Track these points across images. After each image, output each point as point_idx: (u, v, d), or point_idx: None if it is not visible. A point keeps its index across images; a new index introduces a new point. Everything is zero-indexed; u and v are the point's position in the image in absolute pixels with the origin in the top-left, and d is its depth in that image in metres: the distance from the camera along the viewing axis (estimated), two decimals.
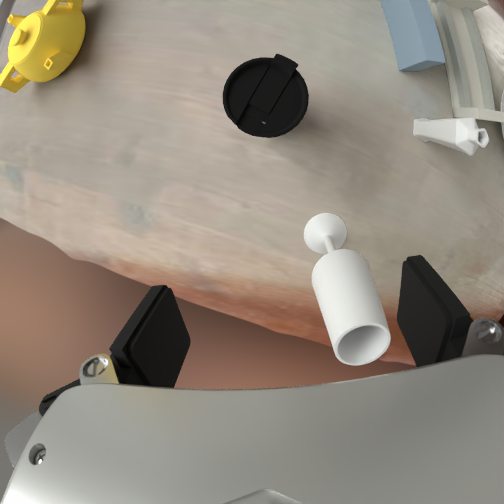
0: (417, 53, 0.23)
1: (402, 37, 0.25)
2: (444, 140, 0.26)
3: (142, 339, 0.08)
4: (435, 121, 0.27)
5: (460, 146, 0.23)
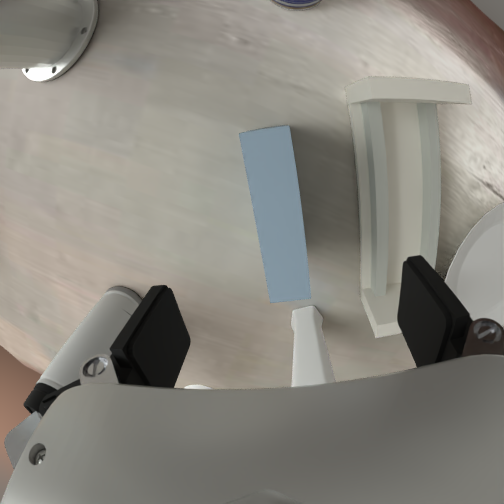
0: None
1: None
2: None
3: (142, 339, 0.08)
4: (295, 352, 0.26)
5: None
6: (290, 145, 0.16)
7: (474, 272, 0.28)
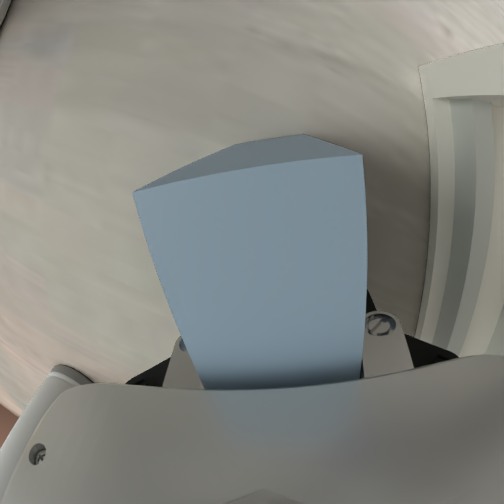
0: None
1: None
2: None
3: None
4: None
5: None
6: (358, 246, 0.04)
7: None
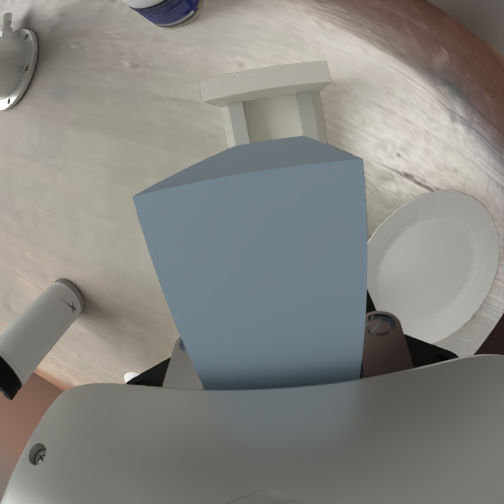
0: None
1: None
2: None
3: None
4: None
5: None
6: (358, 251, 0.04)
7: (400, 274, 0.29)
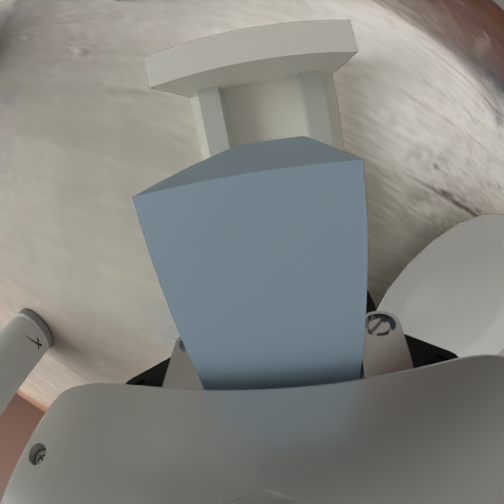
0: None
1: None
2: None
3: None
4: None
5: None
6: (358, 251, 0.04)
7: (425, 316, 0.22)
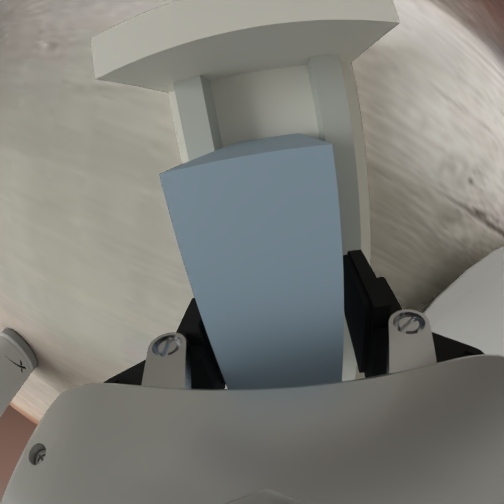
0: None
1: None
2: None
3: None
4: None
5: None
6: (332, 214, 0.05)
7: None
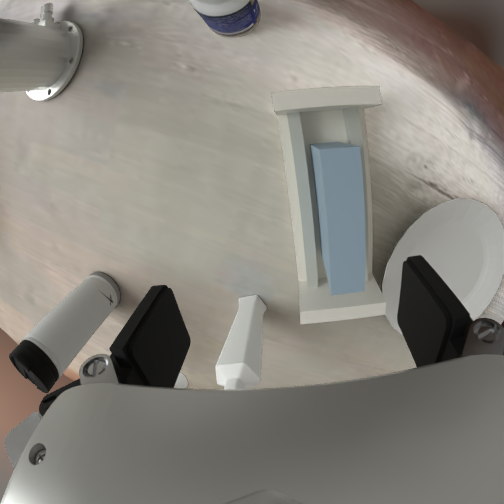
0: (328, 272, 0.25)
1: (321, 225, 0.26)
2: None
3: (143, 339, 0.08)
4: None
5: (224, 386, 0.26)
6: (359, 162, 0.19)
7: None
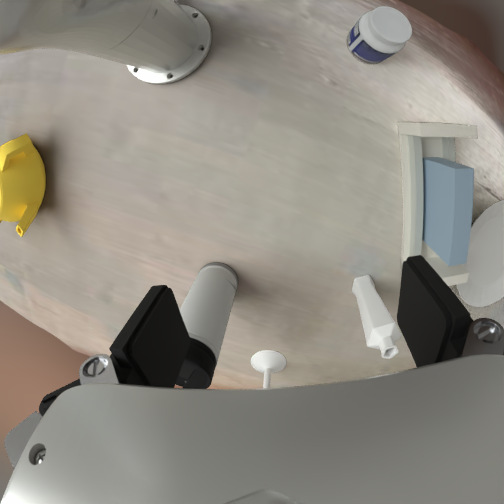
0: (443, 251, 0.30)
1: (433, 218, 0.32)
2: (364, 330, 0.34)
3: (143, 339, 0.08)
4: (364, 304, 0.36)
5: (372, 347, 0.32)
6: (472, 178, 0.24)
7: (479, 253, 0.37)
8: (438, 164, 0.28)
